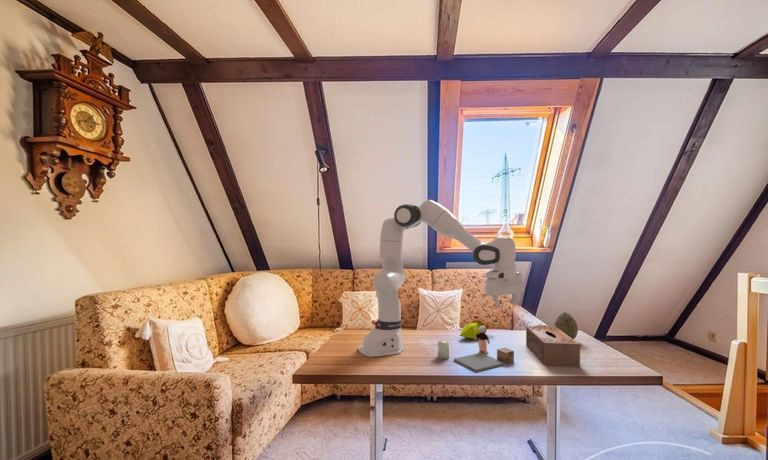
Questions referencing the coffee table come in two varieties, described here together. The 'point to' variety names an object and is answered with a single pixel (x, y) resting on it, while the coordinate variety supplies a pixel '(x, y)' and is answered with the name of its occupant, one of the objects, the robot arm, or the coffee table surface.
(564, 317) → the decorative egg
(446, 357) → the sage green capsule
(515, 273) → the robot arm
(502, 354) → the walnut block
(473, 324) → the plumb bob
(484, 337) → the grandmother figurine
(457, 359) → the slate mat
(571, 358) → the tissue box cover
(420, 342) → the coffee table surface
